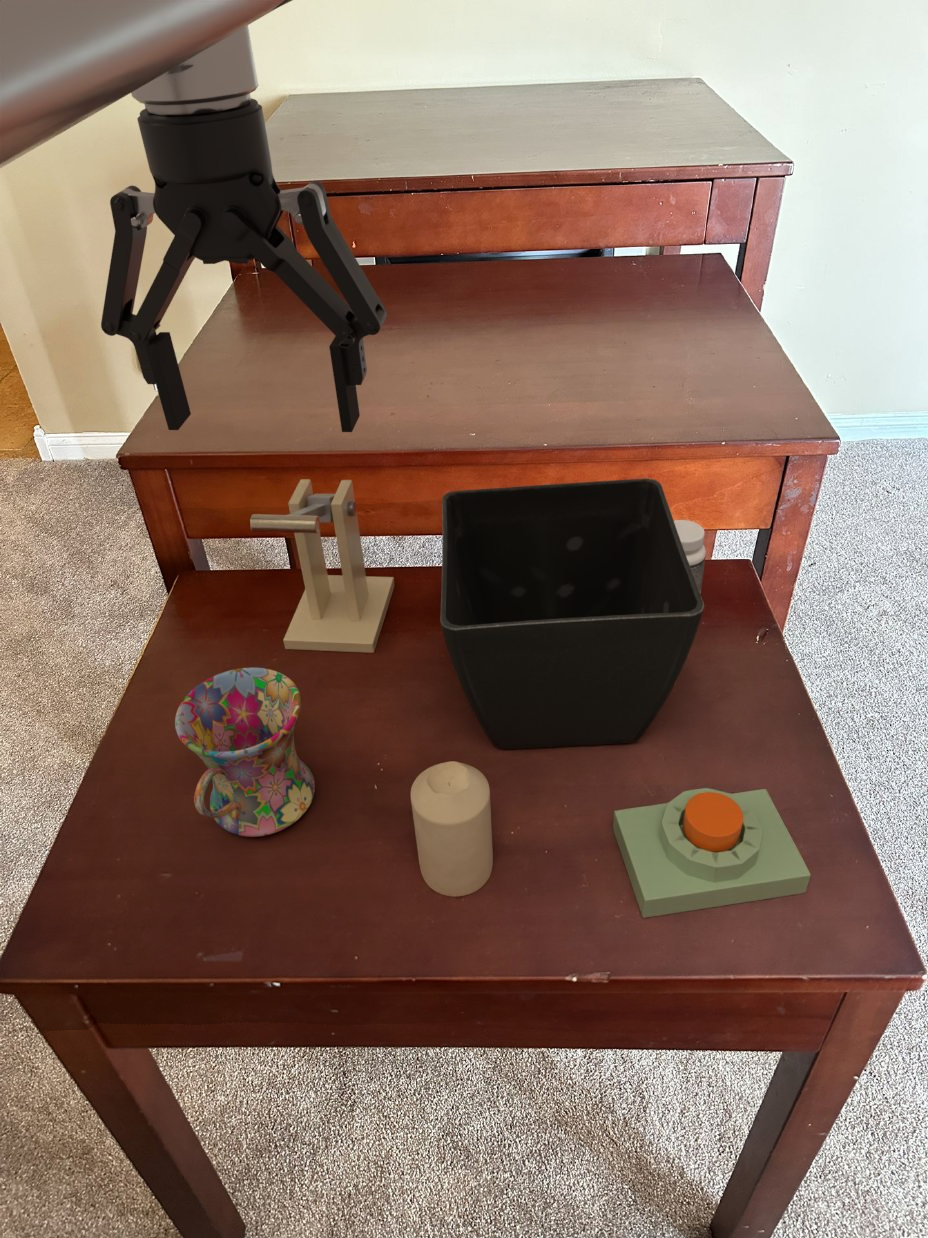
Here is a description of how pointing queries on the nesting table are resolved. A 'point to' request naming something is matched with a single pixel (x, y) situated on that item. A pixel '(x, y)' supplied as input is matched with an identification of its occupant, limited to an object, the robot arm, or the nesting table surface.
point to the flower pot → (566, 609)
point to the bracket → (336, 585)
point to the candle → (453, 828)
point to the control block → (707, 857)
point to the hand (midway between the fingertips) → (264, 423)
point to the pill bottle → (693, 547)
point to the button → (712, 821)
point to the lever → (297, 517)
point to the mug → (247, 750)
